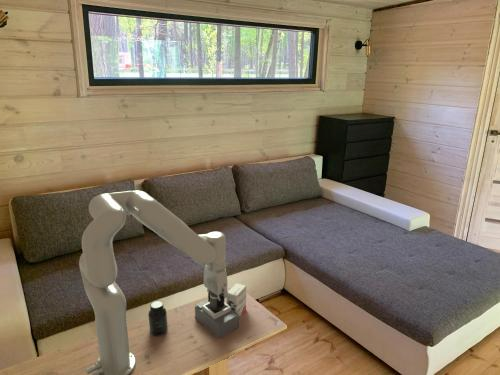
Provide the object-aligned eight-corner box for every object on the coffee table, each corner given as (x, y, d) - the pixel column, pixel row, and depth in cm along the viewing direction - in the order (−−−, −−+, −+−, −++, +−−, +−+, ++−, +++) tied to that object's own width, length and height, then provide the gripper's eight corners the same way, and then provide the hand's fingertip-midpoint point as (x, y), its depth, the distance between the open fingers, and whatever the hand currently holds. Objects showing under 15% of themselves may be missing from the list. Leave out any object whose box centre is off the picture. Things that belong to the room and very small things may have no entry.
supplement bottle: (170, 325, 148) (168, 299, 145) (164, 337, 142) (162, 310, 138) (153, 323, 149) (151, 298, 145) (147, 335, 143) (144, 309, 139)
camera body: (238, 327, 148) (239, 310, 146) (218, 338, 142) (218, 321, 139) (214, 307, 159) (214, 292, 157) (195, 317, 153) (194, 301, 150)
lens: (215, 313, 145) (214, 296, 142) (207, 307, 148) (207, 290, 146) (225, 308, 148) (225, 291, 146) (217, 302, 152) (217, 285, 149)
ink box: (236, 305, 161) (236, 282, 157) (246, 309, 159) (246, 285, 155) (226, 316, 154) (226, 292, 150) (236, 320, 152) (236, 296, 148)
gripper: (195, 258, 145) (196, 297, 151) (221, 276, 133) (221, 318, 139) (210, 252, 150) (211, 290, 156) (237, 269, 138) (237, 310, 144)
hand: (216, 303), depth 147 cm, fingers closed on lens, 5 cm apart
